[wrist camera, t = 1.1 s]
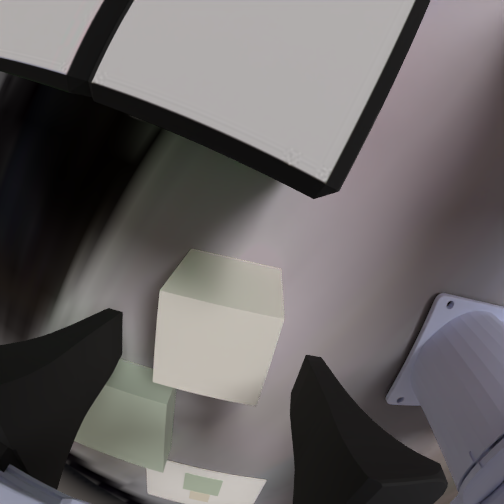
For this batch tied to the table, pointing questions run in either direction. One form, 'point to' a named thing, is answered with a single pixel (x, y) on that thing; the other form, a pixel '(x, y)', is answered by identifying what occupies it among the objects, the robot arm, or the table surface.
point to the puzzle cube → (227, 71)
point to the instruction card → (202, 485)
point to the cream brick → (218, 327)
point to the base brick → (131, 418)
